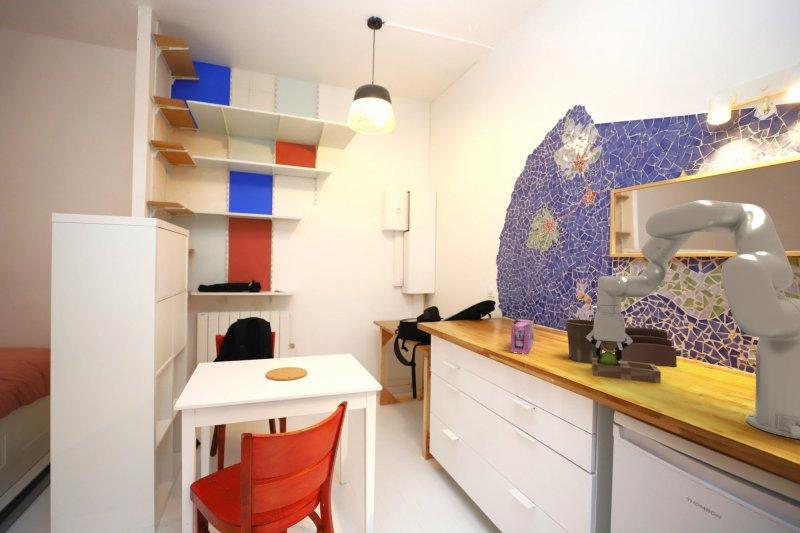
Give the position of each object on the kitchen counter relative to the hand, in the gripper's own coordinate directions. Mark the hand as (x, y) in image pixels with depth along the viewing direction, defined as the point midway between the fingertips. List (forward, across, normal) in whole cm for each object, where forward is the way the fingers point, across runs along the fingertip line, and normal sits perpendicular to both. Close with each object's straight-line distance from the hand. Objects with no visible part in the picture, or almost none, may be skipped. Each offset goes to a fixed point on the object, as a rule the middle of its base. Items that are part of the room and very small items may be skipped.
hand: (608, 358), depth 136 cm
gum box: (+6, -34, +28) cm, 44 cm away
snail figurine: (+3, -1, 0) cm, 3 cm away
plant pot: (+6, -7, +19) cm, 21 cm away
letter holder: (+6, +15, +28) cm, 32 cm away
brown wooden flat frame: (+5, +5, 0) cm, 7 cm away
